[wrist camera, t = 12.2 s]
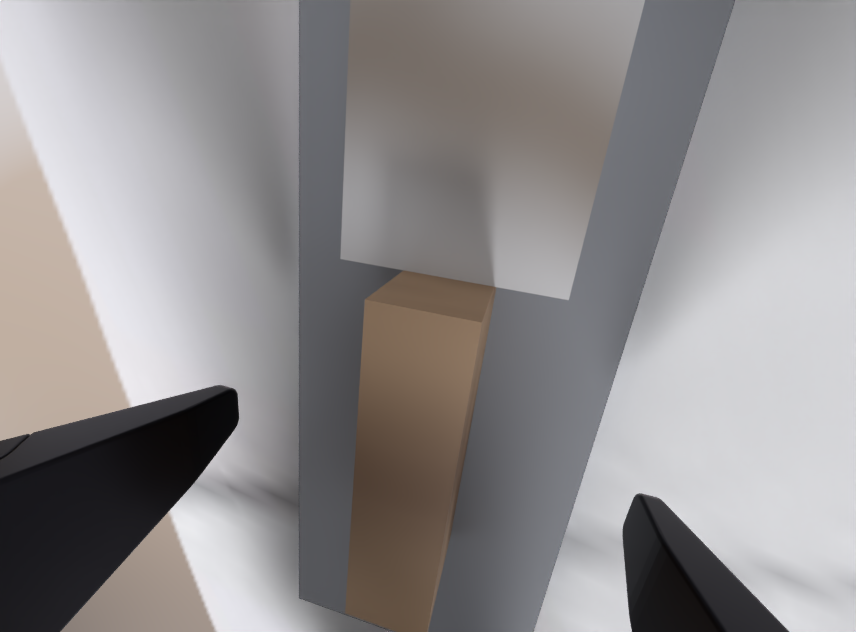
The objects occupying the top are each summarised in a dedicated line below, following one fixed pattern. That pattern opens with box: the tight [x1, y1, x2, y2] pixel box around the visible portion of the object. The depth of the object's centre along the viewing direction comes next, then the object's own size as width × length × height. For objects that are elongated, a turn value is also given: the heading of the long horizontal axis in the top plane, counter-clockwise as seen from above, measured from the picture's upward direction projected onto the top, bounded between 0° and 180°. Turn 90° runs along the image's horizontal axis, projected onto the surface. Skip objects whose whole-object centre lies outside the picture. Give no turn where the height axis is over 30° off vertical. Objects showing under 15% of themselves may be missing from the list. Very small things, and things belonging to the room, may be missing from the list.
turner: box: [340, 0, 645, 632], centre depth 8 cm, size 14×5×3 cm, turn 173°
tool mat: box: [299, 0, 735, 632], centre depth 10 cm, size 22×8×1 cm, turn 173°
